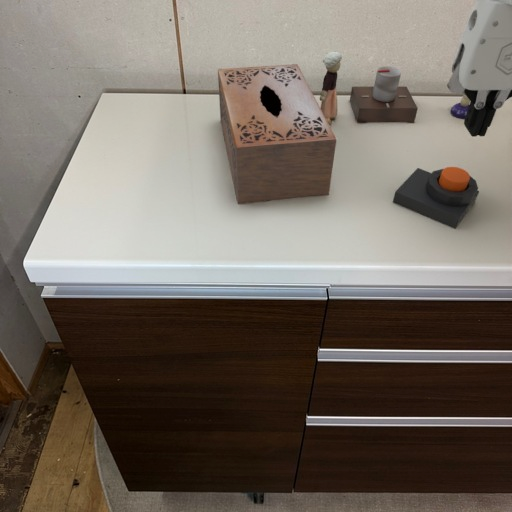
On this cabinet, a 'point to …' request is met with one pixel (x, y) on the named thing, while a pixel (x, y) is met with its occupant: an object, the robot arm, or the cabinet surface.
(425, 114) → the cabinet surface
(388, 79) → the dimmer knob
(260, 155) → the tissue box cover
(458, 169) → the lamp switch
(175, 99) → the cabinet surface
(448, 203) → the switch block
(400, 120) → the dimmer panel
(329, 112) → the grandmother figurine
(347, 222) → the cabinet surface
